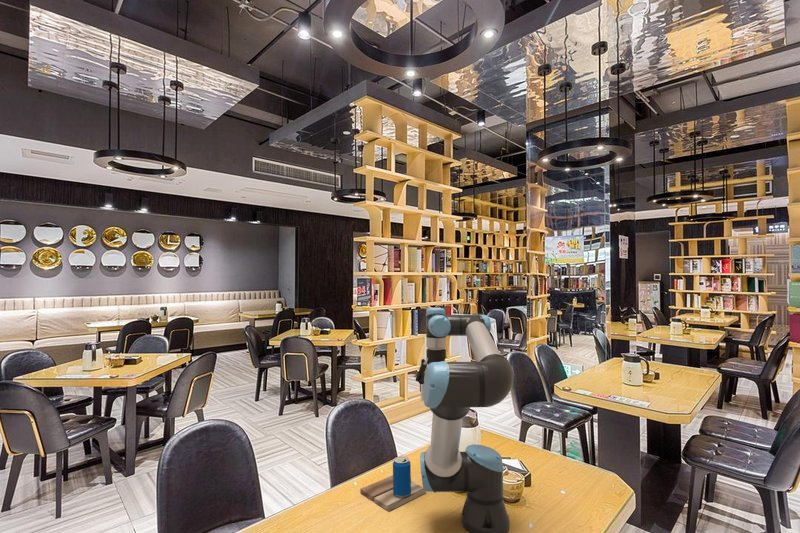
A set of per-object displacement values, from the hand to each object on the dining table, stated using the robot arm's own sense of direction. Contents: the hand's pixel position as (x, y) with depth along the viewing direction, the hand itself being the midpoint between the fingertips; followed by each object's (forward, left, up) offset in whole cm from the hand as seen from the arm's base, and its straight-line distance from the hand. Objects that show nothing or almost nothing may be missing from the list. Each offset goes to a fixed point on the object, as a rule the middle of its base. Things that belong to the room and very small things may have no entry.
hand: (436, 404), depth 149 cm
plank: (+5, +14, -31) cm, 35 cm away
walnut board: (+13, +14, -32) cm, 37 cm away
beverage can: (+4, +14, -30) cm, 34 cm away
